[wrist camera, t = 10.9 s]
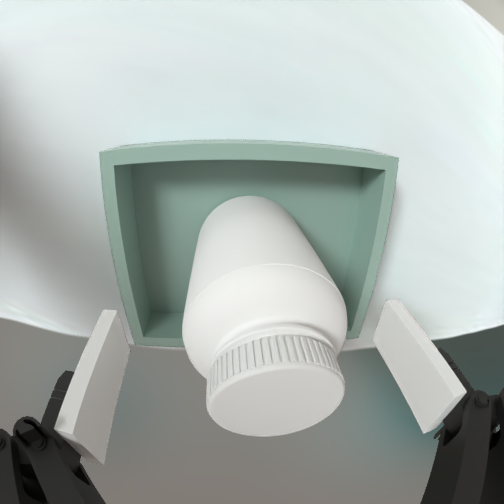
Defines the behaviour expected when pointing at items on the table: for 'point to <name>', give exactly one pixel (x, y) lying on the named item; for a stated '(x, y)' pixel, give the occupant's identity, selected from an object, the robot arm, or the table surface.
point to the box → (228, 187)
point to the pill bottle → (263, 321)
